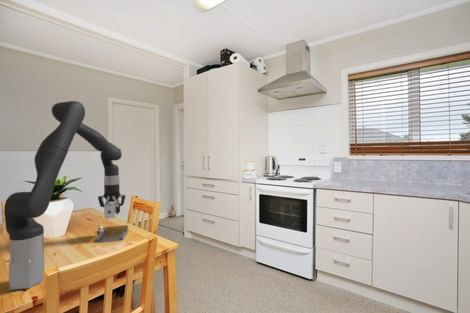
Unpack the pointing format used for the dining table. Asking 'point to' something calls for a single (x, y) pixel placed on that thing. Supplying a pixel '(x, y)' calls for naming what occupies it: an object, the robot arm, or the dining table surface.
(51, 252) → the dining table surface
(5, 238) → the dining table surface
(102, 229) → the hitch pin
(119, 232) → the grey channel bracket
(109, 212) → the grey metal block
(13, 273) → the robot arm
